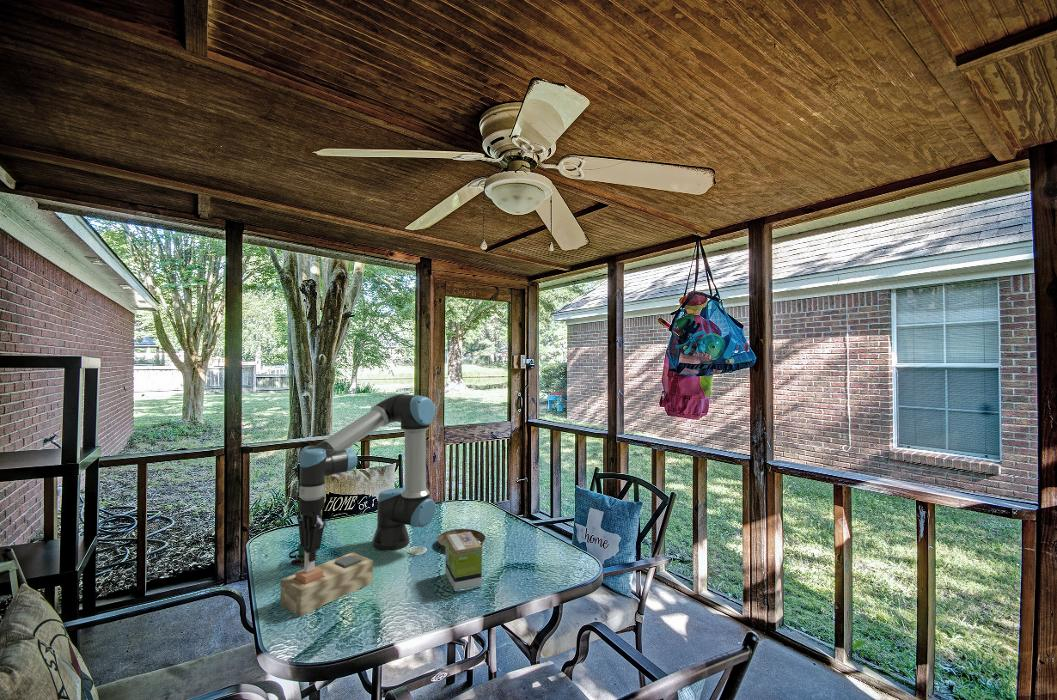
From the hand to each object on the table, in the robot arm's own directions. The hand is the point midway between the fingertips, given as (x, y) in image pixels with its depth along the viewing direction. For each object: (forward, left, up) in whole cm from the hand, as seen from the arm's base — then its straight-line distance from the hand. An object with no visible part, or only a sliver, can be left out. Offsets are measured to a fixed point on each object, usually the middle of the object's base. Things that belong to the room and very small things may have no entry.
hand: (309, 570), depth 146 cm
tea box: (-50, -7, -11) cm, 52 cm away
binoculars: (+11, -32, -11) cm, 35 cm away
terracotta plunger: (0, 0, -8) cm, 8 cm away
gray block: (-10, -10, -10) cm, 17 cm away
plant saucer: (-51, -40, -11) cm, 66 cm away
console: (-5, -5, -10) cm, 12 cm away
